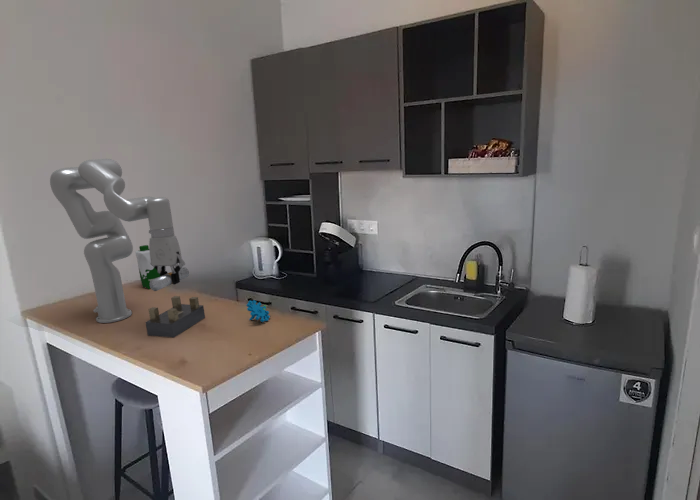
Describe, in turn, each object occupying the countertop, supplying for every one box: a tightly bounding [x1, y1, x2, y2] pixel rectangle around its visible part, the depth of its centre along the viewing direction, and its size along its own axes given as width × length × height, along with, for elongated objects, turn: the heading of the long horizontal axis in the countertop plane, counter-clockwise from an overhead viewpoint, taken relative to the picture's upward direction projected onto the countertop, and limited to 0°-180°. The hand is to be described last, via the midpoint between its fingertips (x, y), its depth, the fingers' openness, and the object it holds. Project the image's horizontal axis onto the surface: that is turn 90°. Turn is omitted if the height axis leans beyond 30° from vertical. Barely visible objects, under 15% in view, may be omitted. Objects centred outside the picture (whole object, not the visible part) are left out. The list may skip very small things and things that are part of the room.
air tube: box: [149, 266, 190, 292], centre depth 156 cm, size 16×4×4 cm, turn 163°
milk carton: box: [134, 244, 160, 290], centre depth 211 cm, size 9×9×20 cm
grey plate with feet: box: [145, 295, 206, 338], centre depth 159 cm, size 11×18×9 cm, turn 163°
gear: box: [245, 299, 271, 323], centre depth 161 cm, size 11×6×10 cm
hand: (170, 282), depth 156 cm, fingers closed on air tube, 4 cm apart
